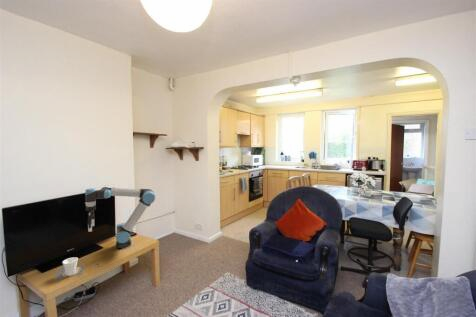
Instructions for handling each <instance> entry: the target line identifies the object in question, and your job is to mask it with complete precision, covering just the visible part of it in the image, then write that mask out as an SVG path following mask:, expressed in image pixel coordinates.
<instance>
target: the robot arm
mask: <svg viewBox="0 0 476 317" xmlns="http://www.w3.org/2000/svg"><path fill="white" fill-rule="evenodd" d="M84 193H85V194H84V195H85V202H84V204H85V211H87V212H88V213H87V224H86V225H87V229H88V230H87V231H88V233H89V232H90V233H91V232H93V227H95V220H96V217H95V211H96V209H97V206H96V204H97V202H96V201H97V199H99V200H100V199H108V198H111V196H112V197H128V198H129V197H130V198H131V197H133V198H138V204H137V206H136V207H135V208H134V210H133V211H132V213H131V214H130V216H129V217H128V219H127V221H125V222H122V223H118V224H117V225H116V234H115V243H114V248H115V247H116V248H125V249H127V248H126V247H128V246H130V245H131V244H133V243H132V240H131V235H132V234H133V232H134V228H135V226H136V224H138V221H139V220H140V218H141V217H142V216H143V214H144V213H145V211H146V209H147V208H149V207H150V206H151V205H152V204H153V203H154V202H155V201H156V194H155V192H154V191H153V190H152V189H150V188H139V189H137V188H135V189H133V188H120V187H119V188H117V187H107V186H103V187H101V189H99V190H96V189H95V188H92V187H91V188H86V189H85V192H84ZM131 246H132V245H131ZM131 246H130V247H131ZM116 248H115V249H116ZM128 248H129V247H128Z"/></svg>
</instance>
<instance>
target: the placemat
mask: <svg viewBox="0 0 476 317" xmlns="http://www.w3.org/2000/svg"><path fill="white" fill-rule="evenodd" d="M77 267H80V268H81V272H79V273H78V274H76V275H74V276H70V277H71V278H72V277H76V276H81V275H83V272H84V269H85V267H86V264H81V265H77ZM63 271H65V269H64V267H63V268H59V269H58V271H57V273H56V275H55V276H54V278H53V281H56V280H61V279H65V278H68V277H63V276H62V275H61V274H62V272H63ZM70 277H69V278H70Z"/></svg>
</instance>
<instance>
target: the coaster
mask: <svg viewBox="0 0 476 317" xmlns="http://www.w3.org/2000/svg"><path fill="white" fill-rule="evenodd" d="M79 272H81V268H80V267H76V273H75V274H73V275H71V276H72V277H75V276H74V275H76V274H78V273H79ZM61 275H62V276H63V277H67V278H70V276H67V275H66V273H65V271H63V272H62V274H61Z"/></svg>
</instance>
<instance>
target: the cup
mask: <svg viewBox="0 0 476 317" xmlns="http://www.w3.org/2000/svg"><path fill="white" fill-rule="evenodd" d="M78 260H79V258H78V257H76V256H75V257H69V258H66V259H64V260H62V262H61V263H62V265H63V268H64V269H65V273H66V275H67V276H71V275H73V274H75V273H76V267H77V266H78Z"/></svg>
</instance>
